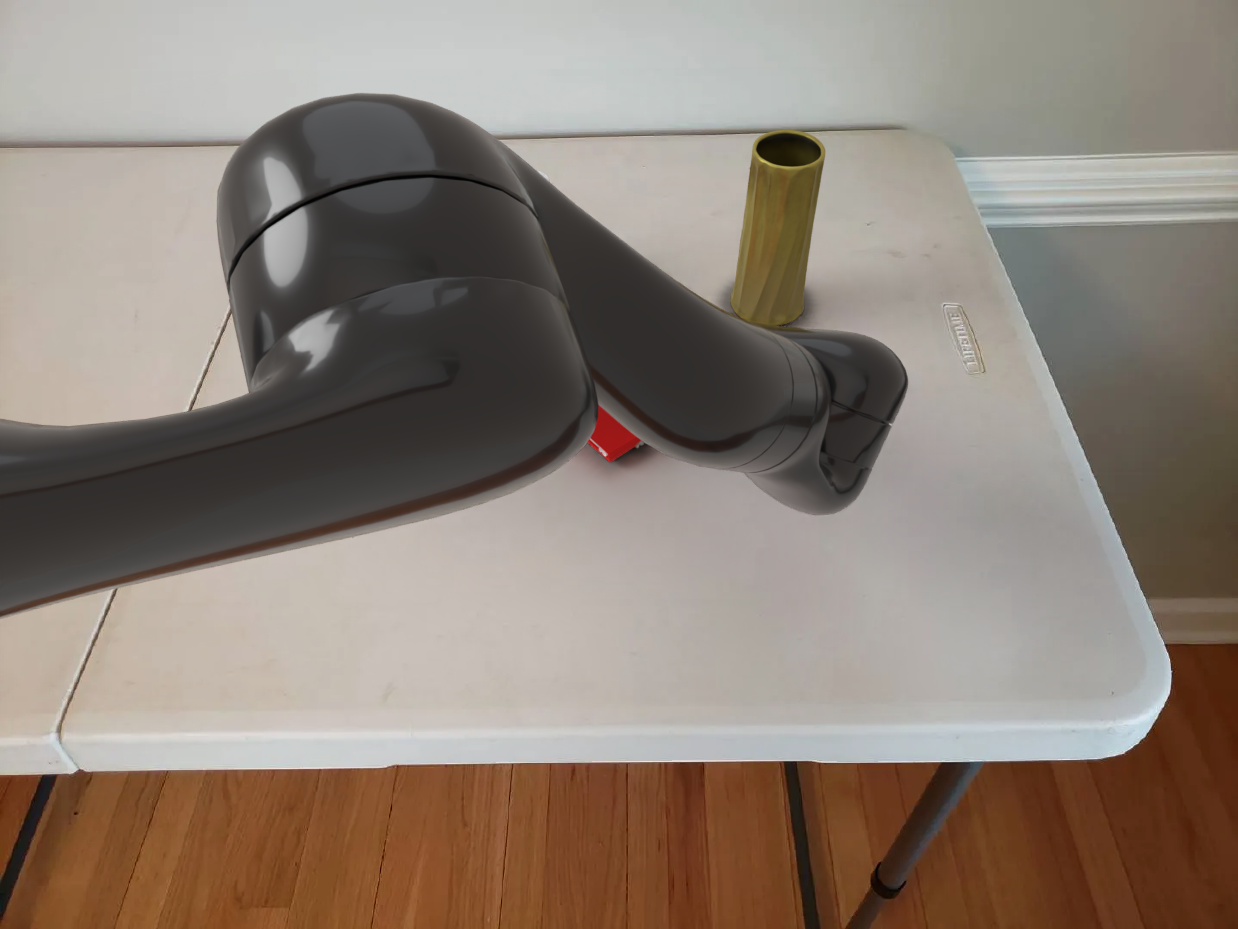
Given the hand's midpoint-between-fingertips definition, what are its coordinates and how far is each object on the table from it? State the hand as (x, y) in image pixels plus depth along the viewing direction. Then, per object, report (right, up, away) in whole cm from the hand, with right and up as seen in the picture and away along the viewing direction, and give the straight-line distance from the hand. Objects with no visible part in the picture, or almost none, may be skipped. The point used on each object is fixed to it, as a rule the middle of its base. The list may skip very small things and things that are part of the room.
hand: (392, 239), depth 64 cm
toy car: (+18, -11, +5) cm, 22 cm away
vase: (+28, -2, +13) cm, 31 cm away
